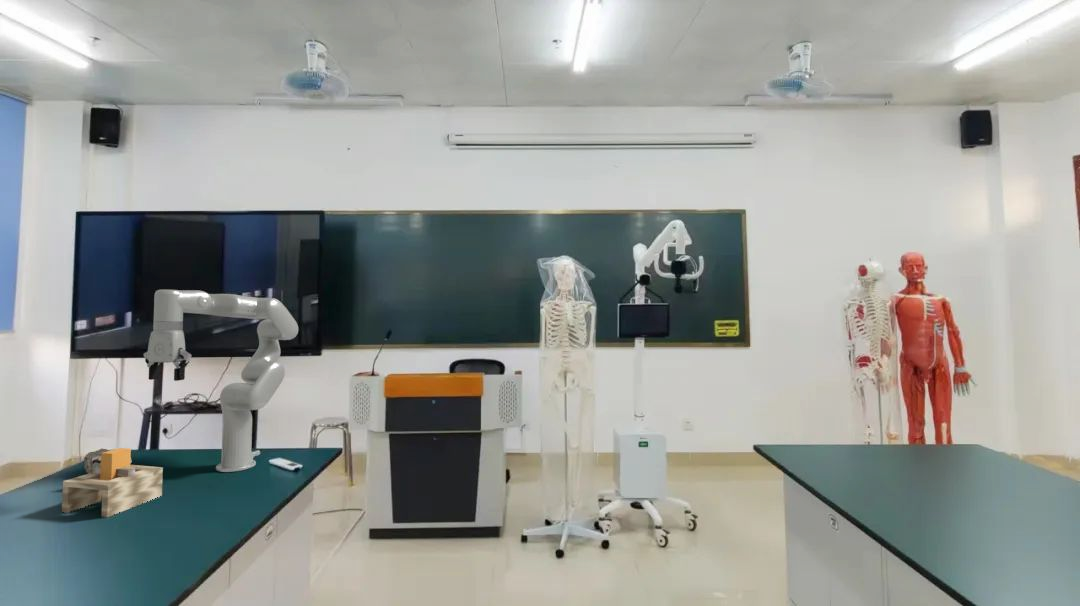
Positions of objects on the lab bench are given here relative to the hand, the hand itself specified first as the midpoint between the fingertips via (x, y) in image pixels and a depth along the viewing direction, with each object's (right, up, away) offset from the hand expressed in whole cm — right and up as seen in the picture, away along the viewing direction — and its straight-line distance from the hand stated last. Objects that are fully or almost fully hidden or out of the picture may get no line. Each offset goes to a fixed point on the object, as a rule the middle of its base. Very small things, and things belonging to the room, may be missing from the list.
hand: (166, 379), depth 153 cm
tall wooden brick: (-7, -30, -11) cm, 33 cm away
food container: (-20, -36, +4) cm, 42 cm away
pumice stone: (-36, -37, +17) cm, 54 cm away
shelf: (-7, -36, -11) cm, 38 cm away
